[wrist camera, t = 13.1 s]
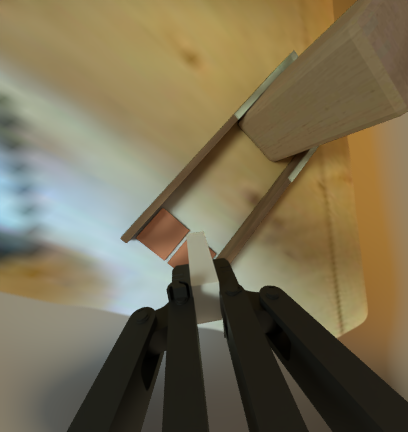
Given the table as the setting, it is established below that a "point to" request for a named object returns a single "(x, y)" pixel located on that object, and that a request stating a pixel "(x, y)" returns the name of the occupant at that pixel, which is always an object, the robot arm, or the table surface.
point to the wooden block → (336, 83)
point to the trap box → (164, 222)
